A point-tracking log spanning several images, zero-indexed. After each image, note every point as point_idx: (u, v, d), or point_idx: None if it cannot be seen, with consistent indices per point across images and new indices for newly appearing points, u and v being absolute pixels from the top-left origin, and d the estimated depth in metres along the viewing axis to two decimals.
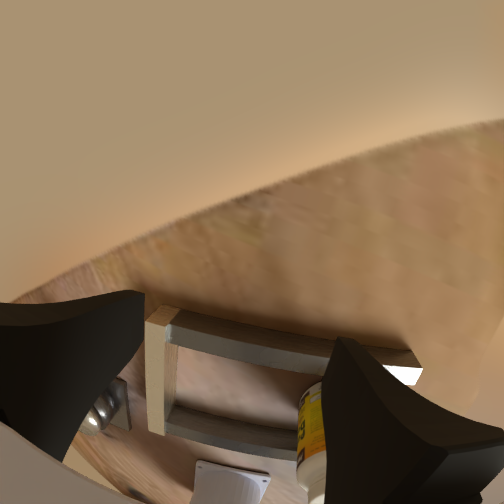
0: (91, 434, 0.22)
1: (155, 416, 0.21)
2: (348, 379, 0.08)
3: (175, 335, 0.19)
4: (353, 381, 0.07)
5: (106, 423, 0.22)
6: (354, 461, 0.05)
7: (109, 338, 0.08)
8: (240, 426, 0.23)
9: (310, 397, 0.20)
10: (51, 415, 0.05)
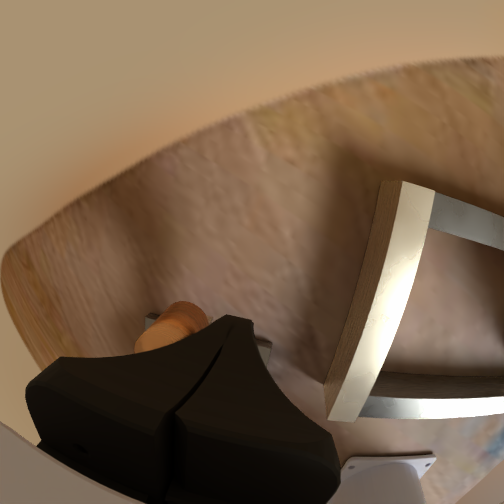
0: None
1: (357, 386, 0.12)
2: None
3: (437, 211, 0.11)
4: None
5: None
6: None
7: None
8: (444, 381, 0.14)
9: None
10: None
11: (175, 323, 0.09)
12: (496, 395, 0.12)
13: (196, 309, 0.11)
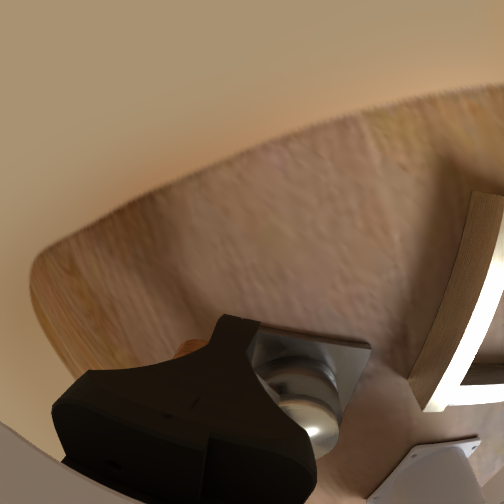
0: (329, 445, 0.12)
1: (452, 378, 0.12)
2: None
3: None
4: None
5: None
6: None
7: None
8: (500, 368, 0.14)
9: None
10: None
11: None
12: None
13: (190, 342, 0.11)
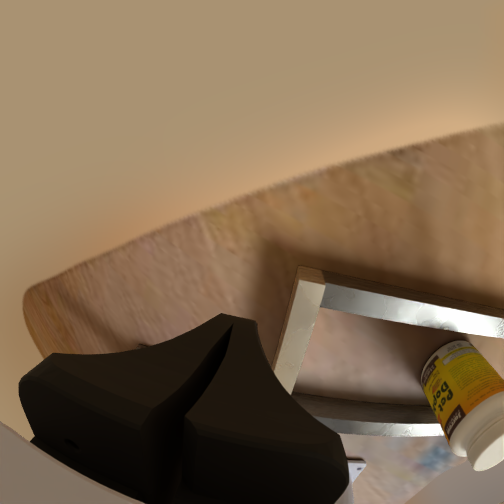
0: None
1: None
2: None
3: (330, 296, 0.17)
4: None
5: None
6: None
7: (216, 371, 0.08)
8: (358, 406, 0.20)
9: (441, 360, 0.17)
10: (177, 472, 0.05)
11: None
12: (405, 422, 0.18)
13: None
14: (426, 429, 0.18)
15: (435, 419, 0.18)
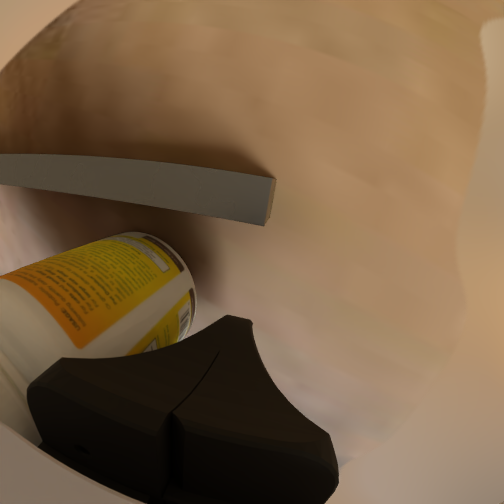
0: None
1: None
2: None
3: None
4: None
5: None
6: None
7: None
8: None
9: None
10: None
11: None
12: None
13: None
14: None
15: None
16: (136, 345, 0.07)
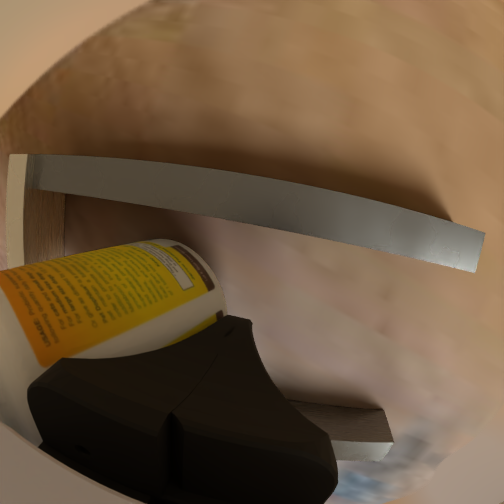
0: None
1: None
2: None
3: (41, 172, 0.10)
4: None
5: None
6: None
7: None
8: None
9: None
10: None
11: None
12: None
13: None
14: None
15: None
16: None
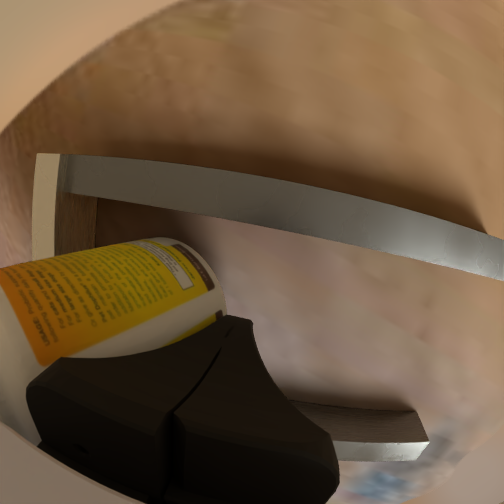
0: None
1: None
2: None
3: (75, 174, 0.10)
4: None
5: None
6: None
7: None
8: None
9: None
10: None
11: None
12: None
13: None
14: None
15: (345, 433, 0.11)
16: None
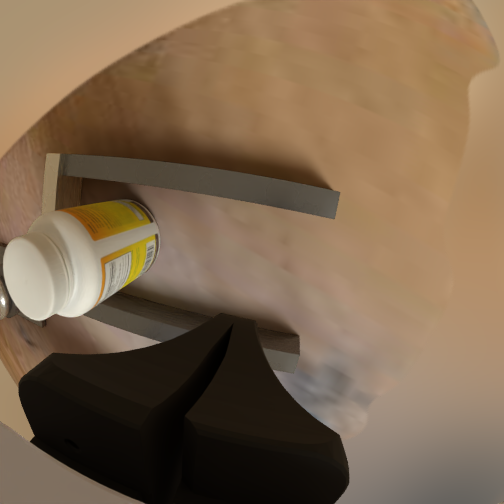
0: (1, 301, 0.19)
1: None
2: None
3: (68, 165, 0.17)
4: None
5: None
6: None
7: (216, 371, 0.08)
8: (136, 301, 0.21)
9: None
10: (177, 472, 0.05)
11: None
12: (179, 326, 0.19)
13: None
14: None
15: None
16: (120, 250, 0.15)
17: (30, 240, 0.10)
